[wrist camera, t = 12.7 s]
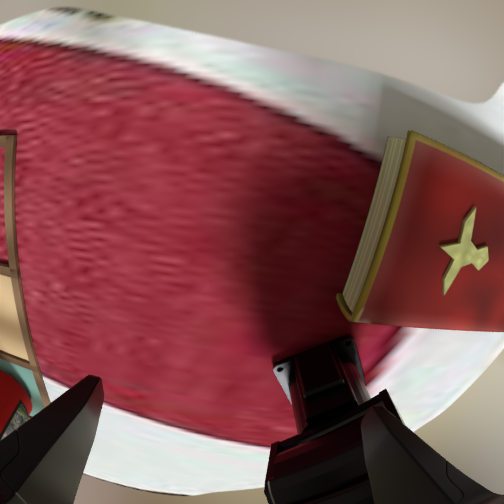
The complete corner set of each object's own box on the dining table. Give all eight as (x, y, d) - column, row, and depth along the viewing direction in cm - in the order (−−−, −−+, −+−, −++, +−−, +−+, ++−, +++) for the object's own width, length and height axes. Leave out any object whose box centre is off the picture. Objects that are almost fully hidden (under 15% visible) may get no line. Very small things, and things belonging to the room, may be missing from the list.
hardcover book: (504, 316, 25) (527, 337, 21) (333, 296, 22) (351, 330, 18) (544, 208, 20) (573, 221, 17) (381, 129, 18) (414, 130, 14)
